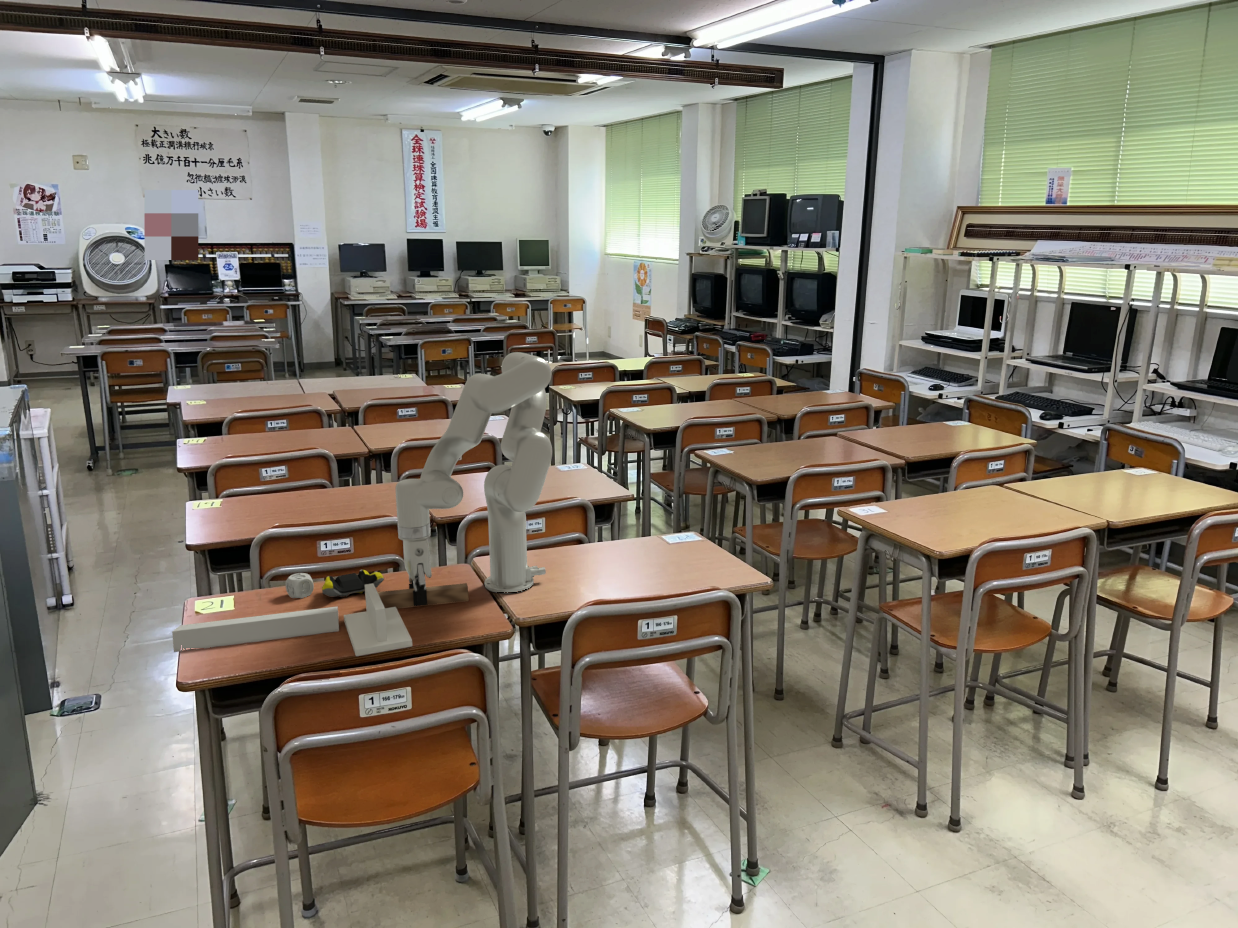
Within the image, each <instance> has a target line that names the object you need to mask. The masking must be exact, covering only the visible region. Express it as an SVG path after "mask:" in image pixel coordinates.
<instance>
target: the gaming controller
mask: <svg viewBox="0 0 1238 928" xmlns="http://www.w3.org/2000/svg"><path fill="white" fill-rule="evenodd" d="M384 581H385V578H384V576H383V574H382V573H381V572H379V571H378V572H377V571H376V572H375V571H374V572H372V573H371V574H370V573H369V572H368V571H367V570H365V569H360V570H359V572H358V573H355V572H352V573H347V574H342V575H338V576H337V577H336V578H334V577H333V576H331V575H328V576H326V578H325V580H324V583H323V585H322V587H321V593H322V594H323V595H326V596H328V597H331V598H335V597H340V598H345V597H344V596H346V597H349V596H350V594H363V592H364V593H365V585H366V584H372V583H373V584H374V586H375V588H376V589H377V588H378V586H380V585H381V584H382V583H383V582H384ZM348 595H349V596H348Z"/></svg>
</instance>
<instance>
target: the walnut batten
mask: <svg viewBox="0 0 1238 928" xmlns="http://www.w3.org/2000/svg"><path fill="white" fill-rule="evenodd" d="M413 590H414V588H413V589H409V588H405V589H395V590H386V591H385V590H384V591H377V592H378V594H379V597H380V599H381V601H382V603H383V605H384V607H385V608H391V607H396V608H397V609H405V608H413V607H417V606H414V603H413ZM426 590H427V605H422V606H421V607H423V606H426V607H427V606H432V605H433V606H434V605H443V604H453V603H462V602H469V587H468V583H467V582H465V583H455V584H447V585H446V584H443V585H434V586H426Z"/></svg>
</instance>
